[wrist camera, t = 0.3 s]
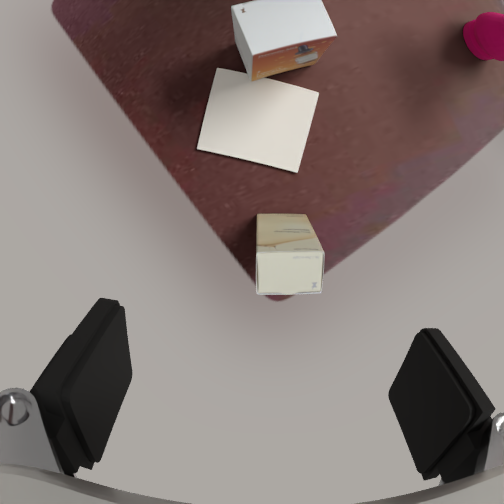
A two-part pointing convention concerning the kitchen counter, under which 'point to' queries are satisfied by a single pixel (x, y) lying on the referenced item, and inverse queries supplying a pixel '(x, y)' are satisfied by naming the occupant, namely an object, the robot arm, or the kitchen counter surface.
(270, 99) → the mat
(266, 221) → the skincare box
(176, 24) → the kitchen counter surface
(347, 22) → the kitchen counter surface
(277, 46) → the small box
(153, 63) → the kitchen counter surface
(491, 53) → the pepper mill
